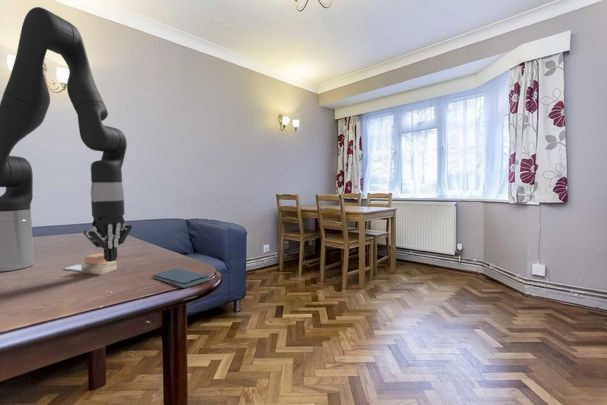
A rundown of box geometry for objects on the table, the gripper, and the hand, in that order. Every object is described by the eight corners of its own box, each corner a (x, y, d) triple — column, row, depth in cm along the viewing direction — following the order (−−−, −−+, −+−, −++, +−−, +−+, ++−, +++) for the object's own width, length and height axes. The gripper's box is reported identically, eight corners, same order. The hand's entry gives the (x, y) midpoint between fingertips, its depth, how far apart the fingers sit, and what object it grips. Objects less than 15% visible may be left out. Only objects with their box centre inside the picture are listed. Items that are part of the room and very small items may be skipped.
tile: (85, 263, 82) (84, 256, 82) (98, 259, 86) (98, 253, 86) (98, 264, 81) (97, 257, 81) (111, 261, 85) (111, 254, 85)
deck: (81, 272, 82) (81, 263, 82) (99, 267, 87) (98, 259, 87) (100, 274, 80) (99, 265, 80) (116, 269, 85) (116, 260, 85)
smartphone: (177, 267, 83) (210, 275, 75) (178, 273, 83) (211, 281, 75) (150, 274, 77) (183, 283, 68) (151, 281, 77) (184, 290, 69)
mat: (63, 269, 85) (63, 268, 85) (78, 265, 89) (78, 264, 89) (83, 271, 83) (83, 270, 83) (97, 267, 87) (97, 266, 87)
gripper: (119, 197, 88) (122, 254, 89) (73, 200, 76) (76, 266, 77) (138, 198, 86) (141, 256, 87) (94, 200, 73) (97, 268, 75)
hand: (110, 261), depth 82 cm, fingers closed
